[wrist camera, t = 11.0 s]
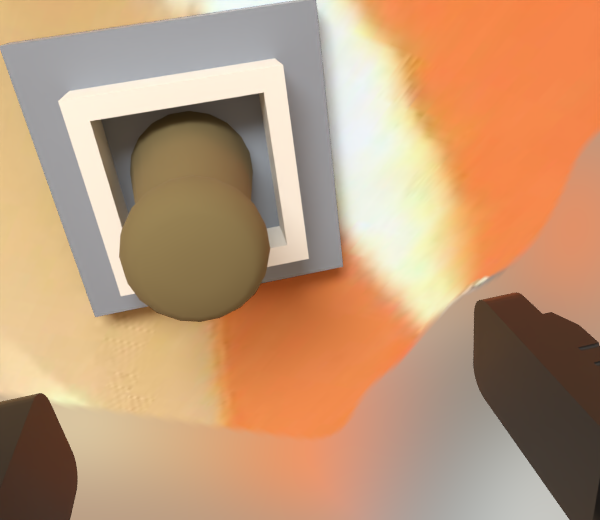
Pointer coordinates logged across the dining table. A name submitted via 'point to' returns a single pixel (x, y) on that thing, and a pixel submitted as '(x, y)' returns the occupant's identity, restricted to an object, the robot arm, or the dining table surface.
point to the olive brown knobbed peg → (193, 220)
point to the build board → (173, 99)
